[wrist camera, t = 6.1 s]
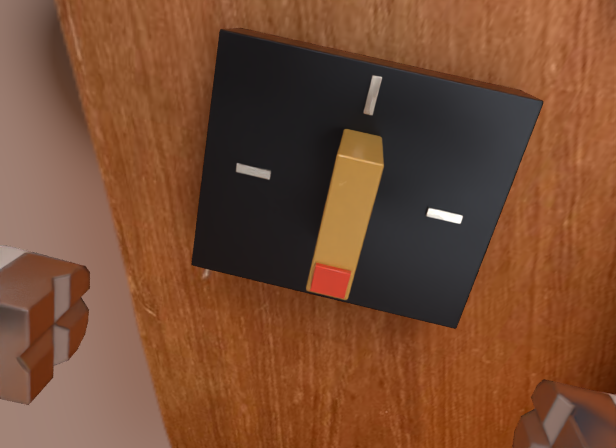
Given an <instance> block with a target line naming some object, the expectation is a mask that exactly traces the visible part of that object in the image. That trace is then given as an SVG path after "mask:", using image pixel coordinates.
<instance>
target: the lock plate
mask: <svg viewBox="0 0 616 448" xmlns="http://www.w3.org/2000/svg"><path fill="white" fill-rule="evenodd" d="M542 105H543V101H542V100H540V99H538V98H536V97H534V96H532V95H530V94H527V93H525V92H523V91H521V90H517V89H513V88H508V87H504V86H499V85H495V84H490V83H486V82H481V81H477V80H472V79H468V78H463V77H459V76H454V75H450V74H445V73H441V72H436V71H432V70H427V69H423V68H418V67H414V66H409V65H405V64H400V63H396V62H391V61H387V60H382V59H378V58H373V57H369V56H364V55H360V54H355V53H351V52H346V51H342V50H337V49H333V48H328V47H324V46H319V45H315V44H310V43H306V42H301V41H297V40H292V39H288V38H283V37H279V36H274V35H270V34H265V33H261V32H256V31H252V30H248V29H243V28H233V29H220V32H219V41H218V49H217V57H216V65H215V74H214V82H213V90H212V98H211V107H210V115H209V123H208V132H207V140H206V148H205V156H204V165H203V173H202V181H201V189H200V198H199V206H198V214H197V222H196V231H195V239H194V247H193V255H192V265H193V266H197V267H201V268H205V269H209V270H213V271H218V272H222V273H226V274H230V275H234V276H238V277H242V278H247V279H251V280H255V281H259V282H263V283H267V284H272V285H276V286H280V287H284V288H288V289H292V290H296V291H301V292H305V293H309V294H313V295H317V296H321V297H326V298H330V299H334V300H338V301H342V302H346V303H350V304H355V305H359V306H363V307H367V308H371V309H375V310H380V311H384V312H388V313H392V314H396V315H400V316H404V317H409V318H413V319H417V320H421V321H425V322H429V323H434V324H438V325H442V326H446V327H450V328H454V329H456V328H457V325H458V323H459V320H460V318H461V315H462V312H463V310H464V307H465V305H466V302H467V299H468V297H469V294H470V292H471V289H472V287H473V284H474V281H475V279H476V276H477V274H478V271H479V268H480V266H481V263H482V261H483V258H484V255H485V253H486V250H487V248H488V245H489V243H490V240H491V237H492V235H493V232H494V230H495V227H496V224H497V222H498V219H499V217H500V214H501V211H502V209H503V206H504V204H505V201H506V199H507V196H508V193H509V191H510V188H511V186H512V183H513V180H514V178H515V175H516V173H517V170H518V167H519V165H520V162H521V160H522V157H523V154H524V152H525V149H526V147H527V144H528V142H529V139H530V136H531V134H532V131H533V129H534V126H535V123H536V121H537V118H538V116H539V113H540V110H541V108H542ZM344 129H350V130H354V131H358V132H363V133H367V134H371V135H376V136H380V137H382V144H383V159H384V169H383V172H382V176H381V180H380V183H379V187H378V191H377V194H376V198H375V202H374V205H373V209H372V213H371V216H370V220H369V224H368V227H367V231H366V235H365V238H364V242H363V246H362V249H361V253H360V257H359V260H358V264H357V268H356V271H355V275H354V279H353V282H352V286H351V290H350V293H349V297H348V299H347V300H343V299H339V298H334V297H330V296H326V295H322V294H318V293H314V292H309V291H307V290H306V286H307V281H308V277H309V273H310V268H311V264H312V260H313V255H314V251H315V247H316V242H317V238H318V234H319V229H320V225H321V221H322V216H323V212H324V208H325V203H326V199H327V195H328V190H329V186H330V182H331V177H332V173H333V169H334V164H335V160H336V156H337V152H338V149H339V145H340V141H341V138H342V134H343V130H344Z"/></svg>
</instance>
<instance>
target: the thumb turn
mask: <svg viewBox="0 0 616 448" xmlns="http://www.w3.org/2000/svg"><path fill="white" fill-rule="evenodd" d="M383 169H384V159H383V144H382V137H380V136H376V135H371V134H367V133H363V132H358V131H354V130H350V129H344V130H343V134H342V138H341V141H340V145H339V149H338V152H337V156H336V160H335V164H334V169H333V173H332V177H331V182H330V186H329V190H328V195H327V199H326V203H325V208H324V212H323V216H322V221H321V225H320V229H319V234H318V238H317V242H316V247H315V251H314V255H313V260H312V264H311V268H310V273H309V277H308V281H307V286H306V290H307V291H309V292H314V293H318V294H322V295H326V296H330V297H334V298H339V299H343V300H347V299H348V297H349V293H350V290H351V286H352V282H353V279H354V275H355V271H356V268H357V264H358V260H359V257H360V253H361V249H362V246H363V242H364V238H365V235H366V231H367V227H368V224H369V220H370V216H371V213H372V209H373V205H374V202H375V198H376V194H377V191H378V187H379V183H380V180H381V176H382V172H383Z"/></svg>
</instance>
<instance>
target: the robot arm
mask: <svg viewBox="0 0 616 448" xmlns="http://www.w3.org/2000/svg"><path fill="white" fill-rule="evenodd" d="M88 289H90V272H89V270H88V269H87V268H86V266H83V265H79V264H75V263H72V262H68V261H64V260H60V259H57V258H53V257H49V256H46V255H42V254H38V253H34V252H30V251H27V250H23V249H19V248H15V247H10V246H0V399H3V400H8V401H12V402H17V403H21V404H26V405H29V404H30V403H31V402H32V400H34V398H35V397H36V396H37V395H38V394H39V393H40V392H41V391H42V389H43V388H44V387H45V386H46V385H47V384H48V383H49V382H50V380H51V379H52V378H53V366H54V365H57V364H60V363H62V362H65V361H68V360H69V359H70V358H71V356H72V355H73V354H74V353H75V352H76V351H77V349H78V347H79V345H80V343H81V341H82V339H83V337H84V335H85V332H86V328H87V324H88V315H89V309H88V308H87V306H86V304H85V303H84V301H83V300H82V298H81V296H82V295H83V294H84V293H86V292H87V290H88ZM531 399H532V402H533V405H534V408H535V409H533V410H532V411H530V412H528V413H526V414H524V415H523V416H521V418H520V420H519V422H518V425H517V427H516V429H515V432H514V439H513V448H616V395H614V394H609V393H605V392H598V391H594V390H589V389H585V388H580V387H576V386H571V385H567V384H562V383H558V382H554V381H549V380H545V379H544V380H542V381H541V382H540V383H539V384H538V385H537V386H536V388H535V390H534V392H533V394H532V396H531Z"/></svg>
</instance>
